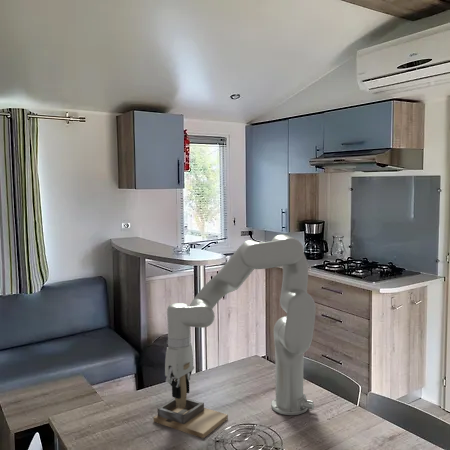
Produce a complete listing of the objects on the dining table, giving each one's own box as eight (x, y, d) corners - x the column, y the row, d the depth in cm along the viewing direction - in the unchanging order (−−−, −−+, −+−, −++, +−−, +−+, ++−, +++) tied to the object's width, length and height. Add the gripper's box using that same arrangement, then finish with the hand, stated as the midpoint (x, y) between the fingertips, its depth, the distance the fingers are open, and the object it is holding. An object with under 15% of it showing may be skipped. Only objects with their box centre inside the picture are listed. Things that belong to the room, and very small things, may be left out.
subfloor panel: (227, 418, 155) (227, 407, 155) (203, 438, 143) (203, 425, 143) (179, 404, 166) (179, 393, 166) (153, 421, 154) (153, 410, 154)
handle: (188, 410, 154) (187, 366, 152) (169, 409, 155) (168, 365, 153) (192, 403, 158) (191, 360, 157) (173, 402, 159) (172, 359, 158)
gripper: (185, 332, 164) (187, 383, 165) (154, 346, 150) (155, 402, 151) (203, 336, 160) (204, 388, 161) (172, 350, 146) (174, 407, 147)
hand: (180, 394), depth 156 cm, fingers closed on handle, 3 cm apart
